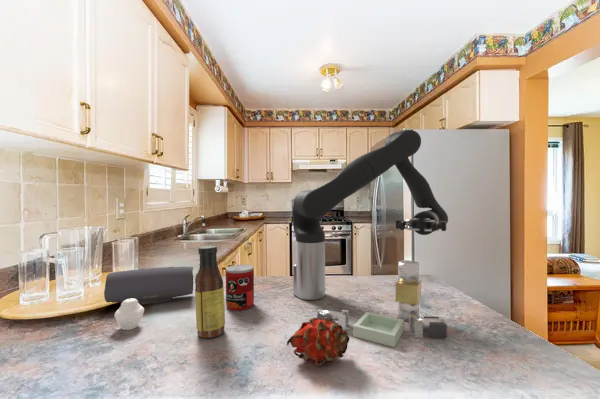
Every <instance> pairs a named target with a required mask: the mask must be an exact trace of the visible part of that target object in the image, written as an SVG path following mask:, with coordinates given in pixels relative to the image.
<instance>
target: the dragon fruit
mask: <svg viewBox="0 0 600 399" xmlns="http://www.w3.org/2000/svg"><path fill="white" fill-rule="evenodd" d="M324 319H325V321H324ZM324 319H323V318H322V319H320V320H319V319H318V318H317V317H313V318H310V319H309V321H306V322H305V321H304V322H302V323H301V326H300V327H299V329H297V330H296V331H295V332H294V334H293V335H292V336H290V337H289V339H288V340H287V341H286V345H287V346H289V344H290V345H291V347H292V348H294V349H293V351H292V353H293V354H294V355H295V356H296V357H298V358H299V359H301V360H304V361H306V360H314V361H315V362H314V364H315V366H317V367H319V366H321V365H323V364H325V363H326V362H327V363H333V361H334V360H335V357H336V358H338V359H341V358H344V357H345V353H346V351H347V349H348V344H349V343H350V340H351V338H350V337H349V335H348V332H347V330H346V331H345V330H343V328H342V326H341V325H339V324H338V322H335V323H333V321H332V320H331V319H329V318H327V317H324Z"/></svg>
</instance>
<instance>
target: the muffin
mask: <svg viewBox="0 0 600 399" xmlns="http://www.w3.org/2000/svg"><path fill="white" fill-rule="evenodd" d="M144 312H145V308H144V307H143V306H142V304H139V303H138V300H137V299H134V298H131V299H130V298H129V299H126V300H124V301H123V302H120V306H119V308H118V309H117V310H116V311H115V313H114V315H113V316H114V319H115V320H116V322H117V324H118V325H119V326H120V327H119V328H121V330H123V331H130V330H133V329H136V328H137V327H138V325H139V324H140V322H141V320H142V318H143V316H144Z"/></svg>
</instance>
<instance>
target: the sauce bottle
mask: <svg viewBox="0 0 600 399" xmlns="http://www.w3.org/2000/svg"><path fill="white" fill-rule="evenodd" d="M217 253H218V247H217V246H216V245H202V246H199V247H198V255H199V265H198V266H199V269H198V271H197V274H196V276H195V279H194V284H195V287H194V288H195V290H194V293H195V298H194V299H195V317H196V318H195V321H196V330H197V332H196V333H197V336H198V337H200V338H202V339H212V338H216V337H220V336H221V335H222V334H224V332H225V327H226V326H225V324H226V317H225V316H226V314H225V313H226V311H225V293H224V290H225V289H224V287H225V286H224V280H223V276H222V274H221V272H220V269H219V266H218V262H217V260H218V259H217V257H218V256H217Z"/></svg>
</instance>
